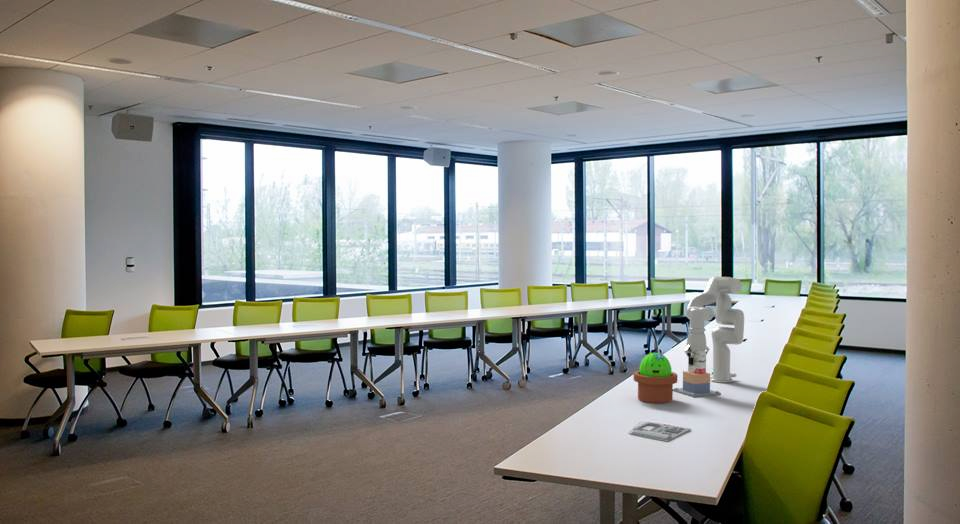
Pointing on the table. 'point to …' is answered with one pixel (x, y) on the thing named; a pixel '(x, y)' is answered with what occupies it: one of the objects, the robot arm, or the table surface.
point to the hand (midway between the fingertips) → (696, 363)
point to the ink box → (698, 363)
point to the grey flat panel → (660, 432)
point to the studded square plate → (696, 385)
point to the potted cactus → (655, 379)
